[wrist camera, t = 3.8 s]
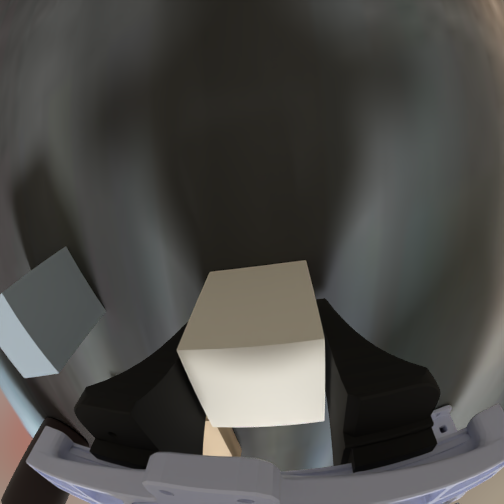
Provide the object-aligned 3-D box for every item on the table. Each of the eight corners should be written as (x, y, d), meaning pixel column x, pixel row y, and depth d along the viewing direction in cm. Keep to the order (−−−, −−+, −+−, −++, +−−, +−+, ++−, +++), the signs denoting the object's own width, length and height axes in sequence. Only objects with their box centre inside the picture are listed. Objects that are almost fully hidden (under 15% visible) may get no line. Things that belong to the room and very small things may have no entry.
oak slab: (220, 392, 17) (214, 421, 15) (242, 445, 20) (239, 469, 18) (121, 387, 18) (110, 410, 16) (159, 440, 21) (152, 460, 19)
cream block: (305, 260, 13) (324, 338, 8) (311, 336, 14) (324, 420, 9) (209, 272, 13) (176, 350, 8) (229, 344, 15) (212, 427, 10)
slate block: (66, 245, 13) (2, 293, 8) (106, 310, 15) (58, 373, 10) (31, 271, 14) (-22, 314, 9) (67, 326, 16) (24, 378, 11)
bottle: (60, 438, 25) (13, 538, 7) (37, 409, 23) (-22, 519, 4) (98, 453, 25) (55, 566, 7) (76, 426, 22) (18, 554, 4)
